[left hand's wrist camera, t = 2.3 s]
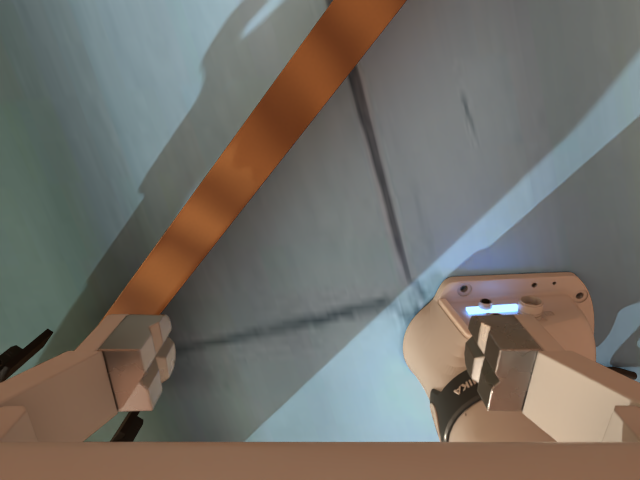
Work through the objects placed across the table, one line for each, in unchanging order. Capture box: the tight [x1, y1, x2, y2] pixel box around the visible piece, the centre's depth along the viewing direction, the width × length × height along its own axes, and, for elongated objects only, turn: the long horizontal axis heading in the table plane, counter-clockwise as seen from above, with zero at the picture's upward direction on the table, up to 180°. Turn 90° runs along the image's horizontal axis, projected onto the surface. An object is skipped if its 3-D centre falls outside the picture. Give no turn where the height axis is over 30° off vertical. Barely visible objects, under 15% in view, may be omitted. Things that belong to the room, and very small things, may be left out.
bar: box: [98, 0, 407, 325], centre depth 38 cm, size 73×4×6 cm, turn 140°
